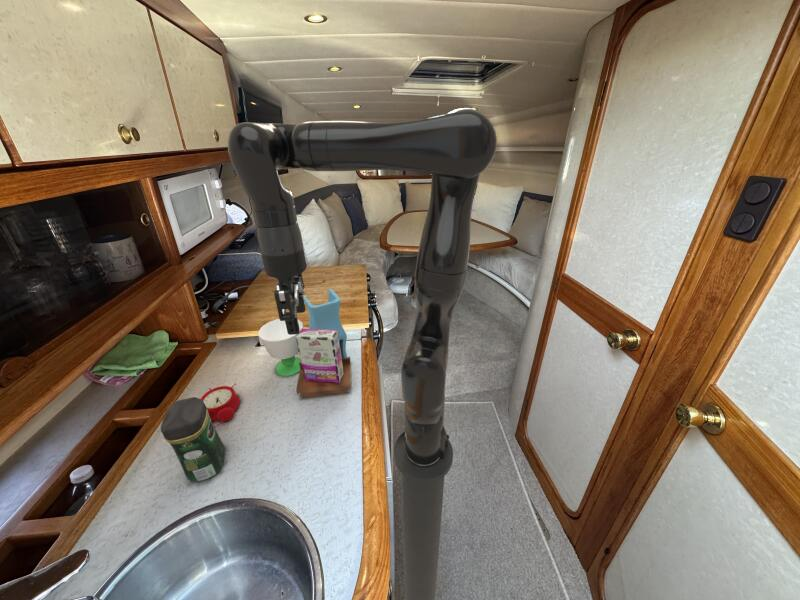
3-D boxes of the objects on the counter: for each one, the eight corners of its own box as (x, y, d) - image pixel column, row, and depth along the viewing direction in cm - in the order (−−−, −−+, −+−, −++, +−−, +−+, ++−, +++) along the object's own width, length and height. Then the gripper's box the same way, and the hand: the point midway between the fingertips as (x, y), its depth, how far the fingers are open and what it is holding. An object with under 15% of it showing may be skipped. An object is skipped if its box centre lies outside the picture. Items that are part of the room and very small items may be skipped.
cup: (274, 387, 99) (263, 346, 92) (264, 363, 109) (253, 325, 102) (316, 370, 106) (308, 331, 98) (303, 350, 116) (295, 313, 108)
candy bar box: (344, 373, 98) (338, 329, 91) (339, 384, 94) (333, 339, 86) (310, 370, 100) (302, 327, 92) (304, 381, 96) (294, 336, 88)
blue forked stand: (339, 349, 116) (331, 288, 104) (349, 364, 108) (342, 300, 97) (313, 358, 112) (302, 295, 100) (322, 374, 104) (310, 308, 92)
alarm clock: (240, 379, 97) (228, 407, 83) (244, 397, 99) (233, 427, 85) (203, 386, 95) (184, 415, 81) (208, 404, 96) (190, 436, 82)
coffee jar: (193, 452, 79) (166, 398, 70) (227, 443, 81) (205, 389, 73) (183, 488, 71) (151, 432, 62) (222, 477, 73) (196, 421, 65)
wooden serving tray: (351, 372, 105) (349, 357, 102) (351, 394, 96) (349, 378, 93) (302, 377, 103) (299, 362, 100) (298, 400, 94) (294, 384, 91)
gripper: (296, 259, 52) (312, 340, 59) (307, 235, 64) (319, 304, 72) (249, 262, 51) (271, 343, 59) (269, 237, 63) (285, 307, 71)
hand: (297, 322), depth 65 cm, fingers open, 8 cm apart
